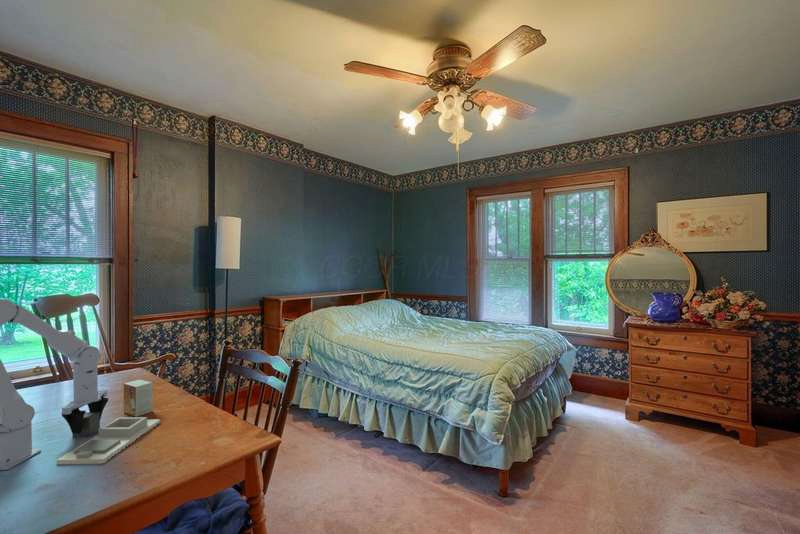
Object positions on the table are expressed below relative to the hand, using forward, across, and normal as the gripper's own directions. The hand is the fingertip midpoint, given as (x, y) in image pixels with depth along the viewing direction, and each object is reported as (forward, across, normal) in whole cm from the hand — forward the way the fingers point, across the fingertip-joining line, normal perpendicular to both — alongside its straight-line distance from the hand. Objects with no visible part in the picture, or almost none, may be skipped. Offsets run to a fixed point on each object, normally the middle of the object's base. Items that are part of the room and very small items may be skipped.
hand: (86, 427), depth 112 cm
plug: (+2, 0, 0) cm, 2 cm away
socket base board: (+2, -5, -12) cm, 13 cm away
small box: (+2, +16, -5) cm, 17 cm away
